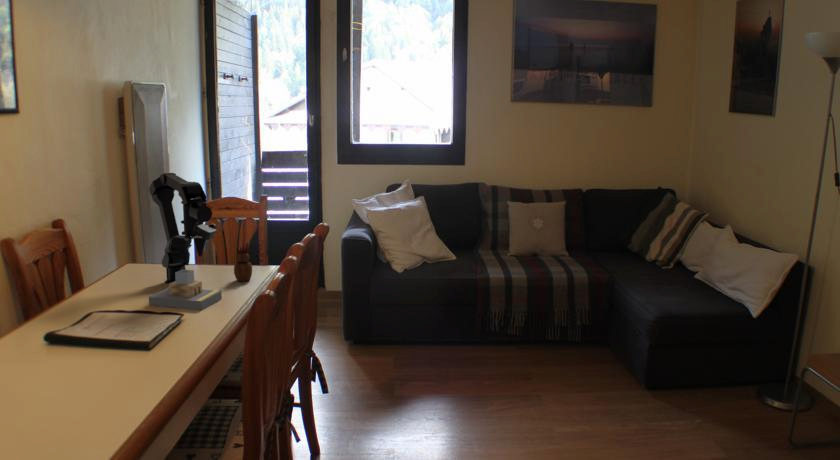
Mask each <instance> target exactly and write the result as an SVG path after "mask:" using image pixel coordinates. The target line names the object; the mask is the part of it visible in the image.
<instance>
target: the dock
mask: <svg viewBox="0 0 840 460" xmlns="http://www.w3.org/2000/svg"><path fill="white" fill-rule="evenodd" d="M221 300H222V290H220V289H214V290H213V289H203V288H202V293H198V295H195V296H194V297H185V296H173V295H169V287H166V288H164V289H163V290H160V291H159V292H155V293H154V294H152V295H150V296H148V305H149V306H151V307H152V306H153V307H162V308H163V307H164V308H175V309H187V310H198V311H199V310H200V311H204V310H205V309H207V308H208V307H211V306H212V305H214V304H216V303H218V302H220V301H221Z"/></svg>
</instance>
